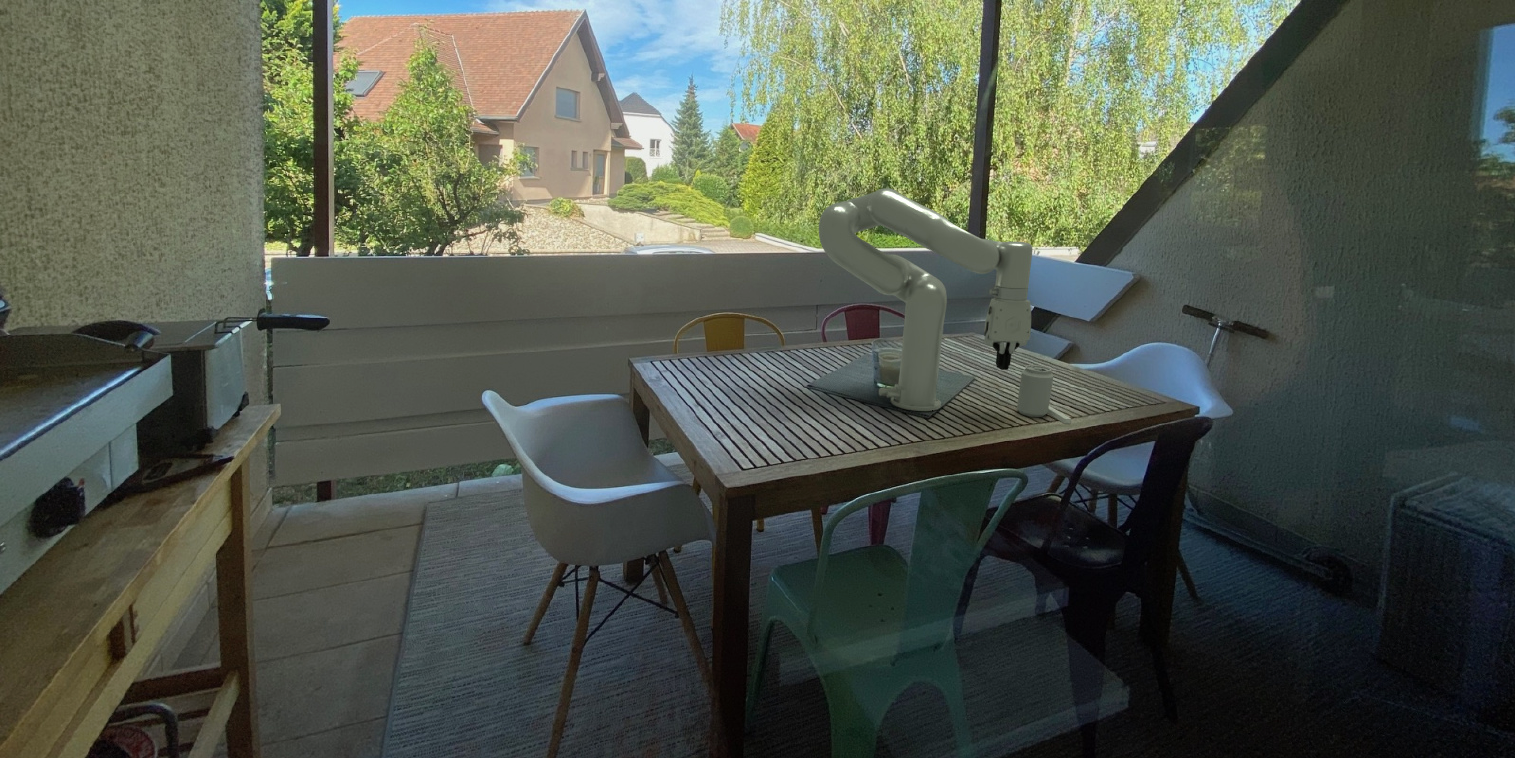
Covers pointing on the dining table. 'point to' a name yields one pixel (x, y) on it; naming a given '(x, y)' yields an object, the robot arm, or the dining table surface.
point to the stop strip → (1059, 415)
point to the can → (1035, 391)
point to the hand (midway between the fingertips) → (1002, 368)
